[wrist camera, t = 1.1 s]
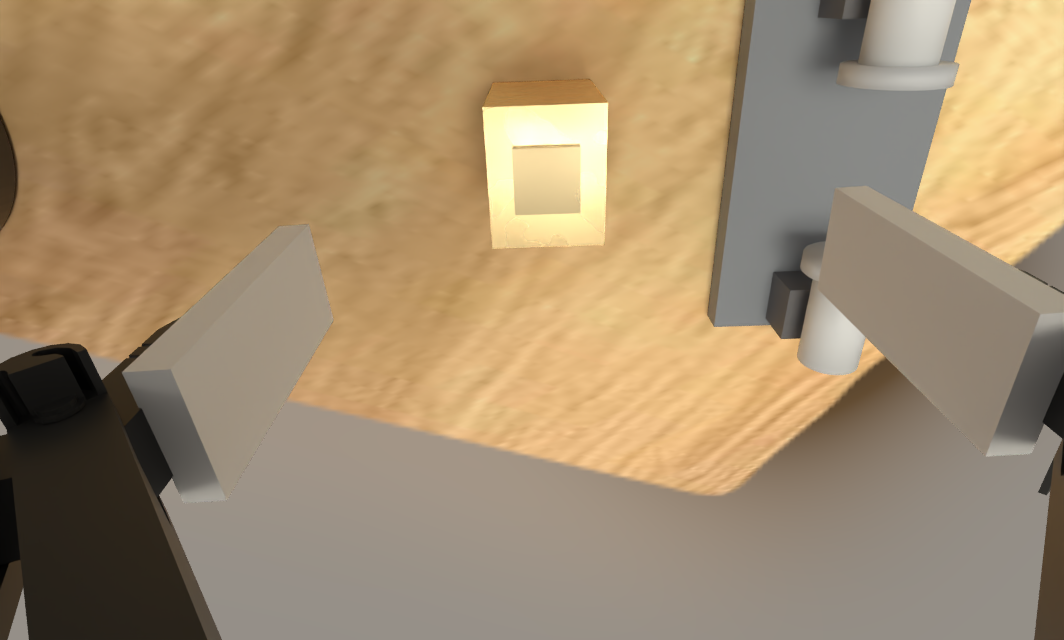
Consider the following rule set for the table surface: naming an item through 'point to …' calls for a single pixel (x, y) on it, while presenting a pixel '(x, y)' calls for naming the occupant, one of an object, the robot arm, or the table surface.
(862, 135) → the grey rod holder
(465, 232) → the table surface
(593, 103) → the coupler
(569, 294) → the table surface
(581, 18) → the table surface
